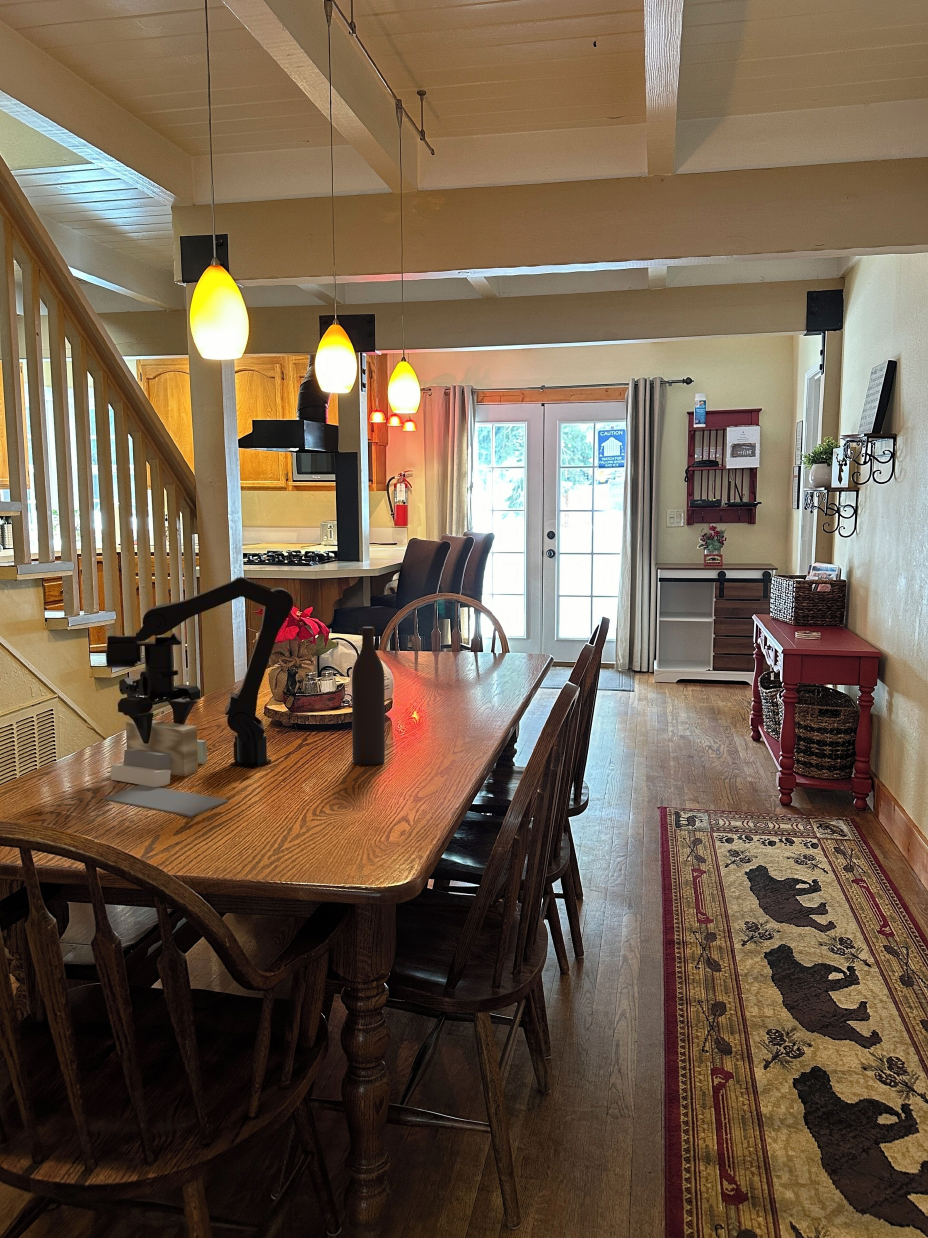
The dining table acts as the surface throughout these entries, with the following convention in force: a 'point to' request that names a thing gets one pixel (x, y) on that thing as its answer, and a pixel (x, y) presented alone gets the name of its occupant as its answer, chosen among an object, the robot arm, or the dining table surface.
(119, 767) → the offcut lower
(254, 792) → the dining table surface
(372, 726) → the wine bottle
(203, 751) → the panel
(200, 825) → the dining table surface
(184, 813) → the mat
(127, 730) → the beige brown block
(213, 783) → the dining table surface
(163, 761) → the offcut upper
